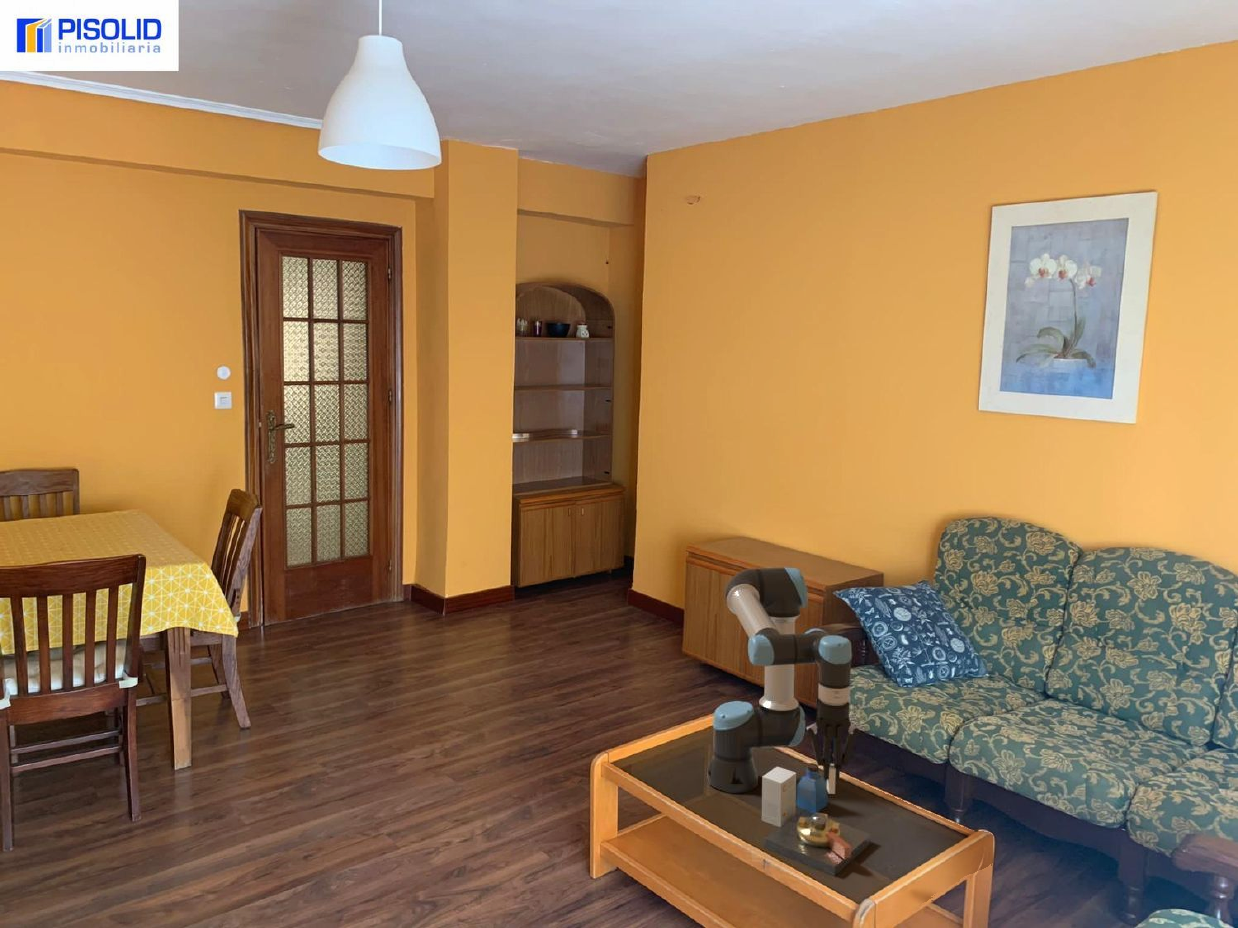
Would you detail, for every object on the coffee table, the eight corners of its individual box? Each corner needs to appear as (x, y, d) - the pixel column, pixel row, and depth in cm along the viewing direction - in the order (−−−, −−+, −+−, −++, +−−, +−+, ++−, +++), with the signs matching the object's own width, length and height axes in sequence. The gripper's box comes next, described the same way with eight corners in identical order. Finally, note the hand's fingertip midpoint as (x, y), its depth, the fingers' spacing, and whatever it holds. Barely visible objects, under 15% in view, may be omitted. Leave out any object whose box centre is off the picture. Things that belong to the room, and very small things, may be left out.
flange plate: (764, 847, 242) (765, 818, 241) (803, 817, 257) (804, 790, 256) (834, 876, 229) (835, 846, 228) (871, 843, 244) (872, 814, 243)
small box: (776, 809, 262) (777, 765, 260) (796, 816, 258) (797, 772, 256) (760, 820, 256) (761, 775, 254) (781, 828, 252) (782, 783, 250)
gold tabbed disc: (788, 830, 246) (788, 817, 245) (822, 821, 250) (823, 808, 250) (829, 863, 230) (830, 850, 229) (865, 853, 234) (865, 840, 234)
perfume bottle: (827, 805, 264) (828, 765, 263) (815, 813, 260) (816, 772, 258) (808, 797, 268) (809, 758, 267) (796, 805, 264) (797, 765, 262)
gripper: (809, 706, 223) (807, 798, 227) (864, 706, 223) (860, 798, 226) (804, 693, 231) (801, 783, 234) (856, 694, 230) (853, 783, 234)
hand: (830, 790), depth 230 cm, fingers closed
